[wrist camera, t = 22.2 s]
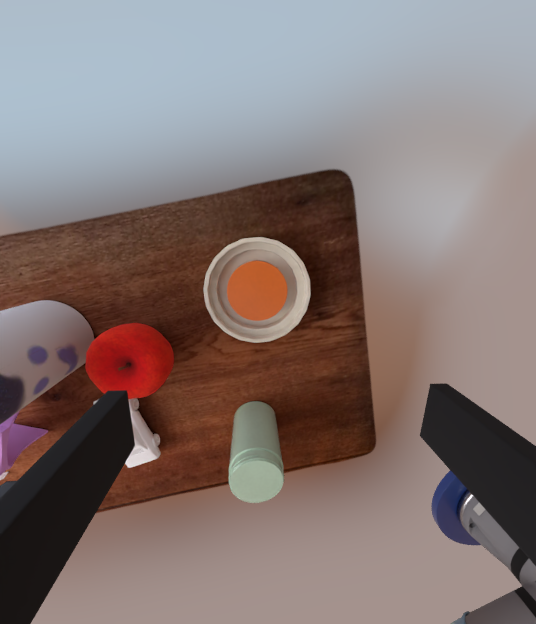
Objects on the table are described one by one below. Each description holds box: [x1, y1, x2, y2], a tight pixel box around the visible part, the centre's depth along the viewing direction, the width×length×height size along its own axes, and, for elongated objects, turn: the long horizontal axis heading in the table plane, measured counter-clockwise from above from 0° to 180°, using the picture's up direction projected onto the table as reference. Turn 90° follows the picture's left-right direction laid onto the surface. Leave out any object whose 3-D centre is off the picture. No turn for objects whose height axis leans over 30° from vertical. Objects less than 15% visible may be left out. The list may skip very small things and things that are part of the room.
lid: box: [227, 260, 288, 321], centre depth 32 cm, size 8×8×2 cm
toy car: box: [93, 398, 161, 468], centre depth 36 cm, size 6×12×3 cm, turn 19°
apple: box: [86, 323, 174, 399], centre depth 30 cm, size 9×9×8 cm
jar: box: [229, 401, 284, 503], centre depth 33 cm, size 7×7×11 cm
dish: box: [203, 237, 311, 343], centre depth 32 cm, size 13×13×3 cm
